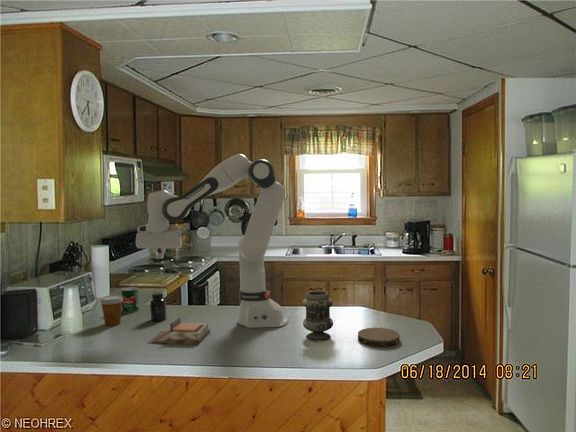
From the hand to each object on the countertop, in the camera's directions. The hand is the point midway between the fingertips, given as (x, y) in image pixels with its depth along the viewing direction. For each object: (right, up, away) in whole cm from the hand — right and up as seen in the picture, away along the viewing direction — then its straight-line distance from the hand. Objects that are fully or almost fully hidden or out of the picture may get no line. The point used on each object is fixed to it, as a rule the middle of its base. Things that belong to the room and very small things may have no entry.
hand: (159, 258), depth 213 cm
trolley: (+16, -29, -19) cm, 38 cm away
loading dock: (+12, -31, -17) cm, 38 cm away
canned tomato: (-21, -28, +25) cm, 43 cm away
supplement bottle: (-3, -29, +9) cm, 30 cm away
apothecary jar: (+68, -30, -20) cm, 77 cm away
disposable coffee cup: (-22, -30, +3) cm, 37 cm away
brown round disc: (+91, -30, -25) cm, 99 cm away
